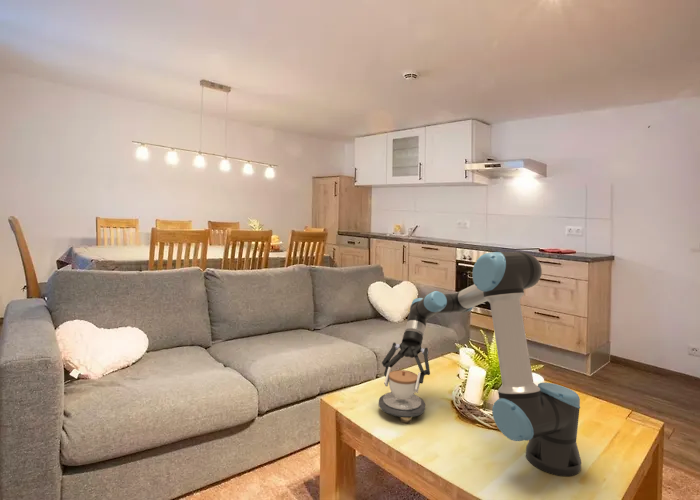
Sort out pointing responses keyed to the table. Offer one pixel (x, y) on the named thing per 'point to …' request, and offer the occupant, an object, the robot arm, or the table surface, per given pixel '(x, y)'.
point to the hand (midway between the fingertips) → (400, 387)
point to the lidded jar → (402, 383)
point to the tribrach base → (402, 406)
